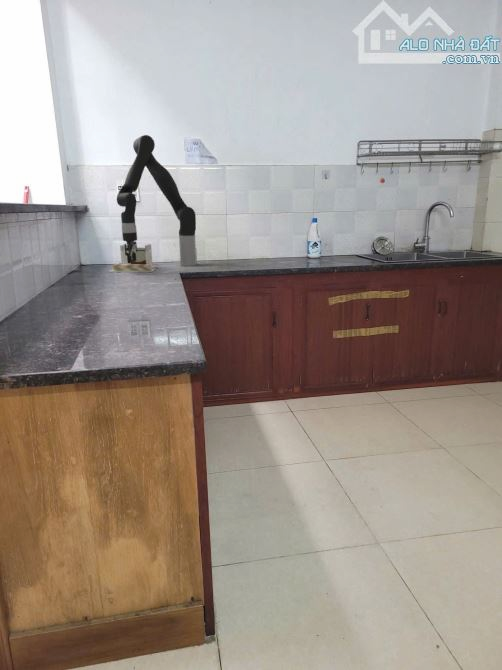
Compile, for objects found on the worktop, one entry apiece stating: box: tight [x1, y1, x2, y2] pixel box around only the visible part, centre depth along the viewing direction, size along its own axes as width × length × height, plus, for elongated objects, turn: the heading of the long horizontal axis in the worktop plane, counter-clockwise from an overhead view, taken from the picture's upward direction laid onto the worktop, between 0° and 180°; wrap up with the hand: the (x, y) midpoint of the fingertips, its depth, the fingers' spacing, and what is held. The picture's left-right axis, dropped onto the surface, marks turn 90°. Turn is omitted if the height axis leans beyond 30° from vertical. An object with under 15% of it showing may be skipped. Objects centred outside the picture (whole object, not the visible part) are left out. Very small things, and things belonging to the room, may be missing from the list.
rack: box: [119, 243, 157, 269], centre depth 266 cm, size 20×7×13 cm, turn 87°
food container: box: [130, 247, 146, 264], centre depth 278 cm, size 12×6×10 cm, turn 84°
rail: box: [112, 263, 151, 271], centre depth 258 cm, size 20×3×3 cm, turn 86°
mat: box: [107, 268, 156, 273], centre depth 259 cm, size 24×8×1 cm, turn 87°
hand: (132, 262), depth 257 cm, fingers open, 8 cm apart
